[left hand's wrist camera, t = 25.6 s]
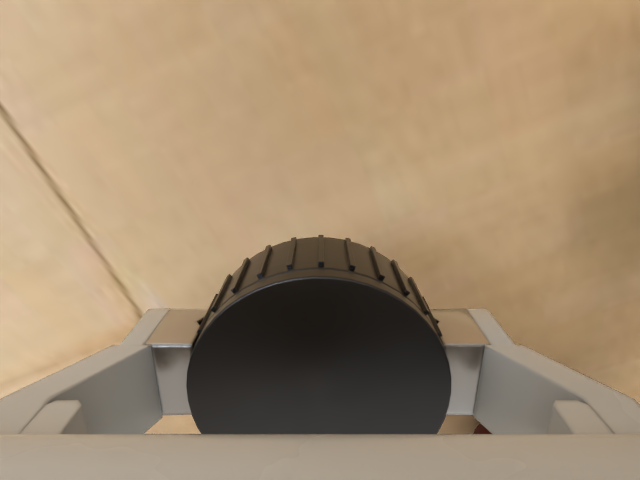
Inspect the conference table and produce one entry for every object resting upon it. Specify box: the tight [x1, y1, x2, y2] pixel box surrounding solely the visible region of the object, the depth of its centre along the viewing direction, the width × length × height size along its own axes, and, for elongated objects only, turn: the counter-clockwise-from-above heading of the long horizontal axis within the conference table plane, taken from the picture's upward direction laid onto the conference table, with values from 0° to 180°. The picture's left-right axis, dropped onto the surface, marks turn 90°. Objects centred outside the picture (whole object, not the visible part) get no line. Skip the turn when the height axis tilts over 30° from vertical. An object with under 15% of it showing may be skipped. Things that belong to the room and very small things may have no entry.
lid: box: [186, 235, 451, 434], centre depth 9 cm, size 5×5×2 cm
